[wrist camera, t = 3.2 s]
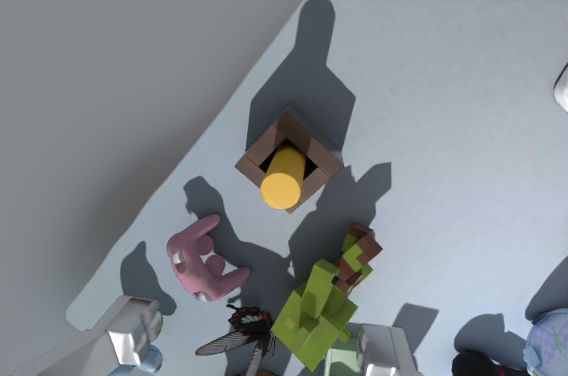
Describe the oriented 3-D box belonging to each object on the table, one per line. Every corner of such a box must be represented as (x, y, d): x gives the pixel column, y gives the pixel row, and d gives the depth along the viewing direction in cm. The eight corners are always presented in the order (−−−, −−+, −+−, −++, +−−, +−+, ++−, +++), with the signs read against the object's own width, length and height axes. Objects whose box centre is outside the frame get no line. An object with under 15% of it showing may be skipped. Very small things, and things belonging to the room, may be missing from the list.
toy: (412, 246, 31) (345, 340, 35) (358, 211, 34) (303, 302, 38) (395, 273, 22) (311, 393, 27) (325, 223, 25) (259, 338, 30)
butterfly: (263, 302, 44) (218, 361, 40) (236, 273, 39) (182, 336, 35) (316, 341, 36) (267, 420, 32) (290, 311, 32) (229, 399, 27)
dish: (327, 333, 39) (328, 348, 38) (380, 340, 39) (383, 355, 37) (322, 373, 43) (322, 388, 42) (370, 380, 43) (372, 395, 41)
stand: (290, 102, 26) (285, 109, 23) (341, 151, 28) (344, 166, 24) (244, 152, 29) (234, 166, 26) (293, 195, 31) (290, 214, 27)
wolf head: (168, 346, 45) (130, 418, 36) (119, 319, 44) (67, 388, 35) (184, 326, 43) (148, 399, 34) (132, 298, 41) (79, 366, 32)
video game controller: (197, 210, 35) (150, 247, 30) (220, 209, 32) (171, 251, 27) (233, 269, 38) (195, 311, 34) (256, 274, 35) (219, 320, 31)
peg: (277, 137, 28) (259, 171, 20) (307, 138, 28) (301, 174, 20) (277, 165, 29) (260, 207, 21) (306, 167, 29) (299, 210, 21)
